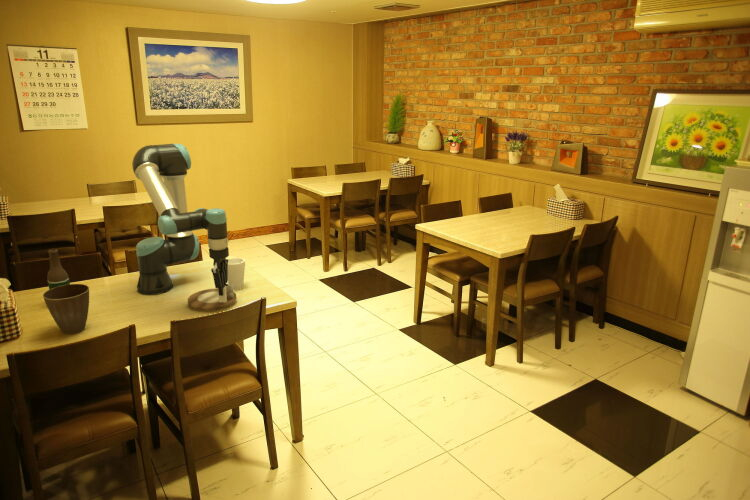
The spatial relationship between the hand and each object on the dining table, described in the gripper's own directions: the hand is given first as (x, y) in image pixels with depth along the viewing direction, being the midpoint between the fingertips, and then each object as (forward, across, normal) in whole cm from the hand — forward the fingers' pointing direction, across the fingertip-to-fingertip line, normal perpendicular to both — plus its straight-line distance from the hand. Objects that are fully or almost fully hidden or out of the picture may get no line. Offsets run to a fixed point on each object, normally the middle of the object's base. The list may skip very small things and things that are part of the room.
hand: (222, 301), depth 212 cm
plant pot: (+5, -23, +50) cm, 56 cm away
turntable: (+3, +7, +8) cm, 11 cm away
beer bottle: (+5, 0, +70) cm, 71 cm away
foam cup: (+5, +26, +4) cm, 27 cm away
